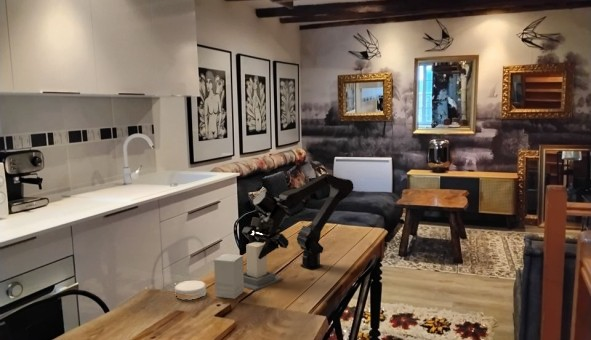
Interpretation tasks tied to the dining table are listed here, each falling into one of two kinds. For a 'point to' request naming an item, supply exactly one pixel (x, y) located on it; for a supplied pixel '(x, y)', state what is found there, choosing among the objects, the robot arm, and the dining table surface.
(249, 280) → the tray
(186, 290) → the white round disc
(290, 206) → the robot arm
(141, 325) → the dining table surface
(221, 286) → the supplement box
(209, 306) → the dining table surface
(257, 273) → the cream block
